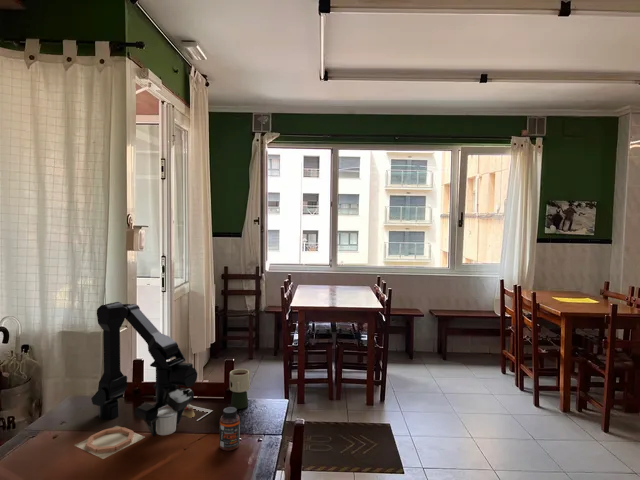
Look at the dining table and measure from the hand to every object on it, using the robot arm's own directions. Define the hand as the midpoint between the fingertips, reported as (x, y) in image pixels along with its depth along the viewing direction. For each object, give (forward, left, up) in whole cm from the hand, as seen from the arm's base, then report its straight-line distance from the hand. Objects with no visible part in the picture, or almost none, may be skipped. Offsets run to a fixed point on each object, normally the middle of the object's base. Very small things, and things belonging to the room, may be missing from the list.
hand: (165, 429), depth 136 cm
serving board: (-9, -13, -2) cm, 16 cm away
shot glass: (0, 0, -2) cm, 2 cm away
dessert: (-4, +13, -2) cm, 13 cm away
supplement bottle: (+22, +5, -2) cm, 23 cm away
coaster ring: (-9, -13, 0) cm, 16 cm away
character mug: (+7, +27, -2) cm, 28 cm away
